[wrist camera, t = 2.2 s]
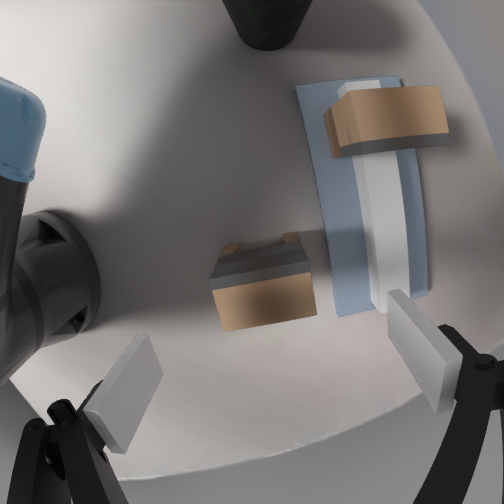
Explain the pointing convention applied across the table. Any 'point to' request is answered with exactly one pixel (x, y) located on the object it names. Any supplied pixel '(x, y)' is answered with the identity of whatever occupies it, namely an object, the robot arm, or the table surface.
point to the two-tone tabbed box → (263, 285)
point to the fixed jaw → (386, 120)
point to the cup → (267, 21)
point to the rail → (348, 203)
